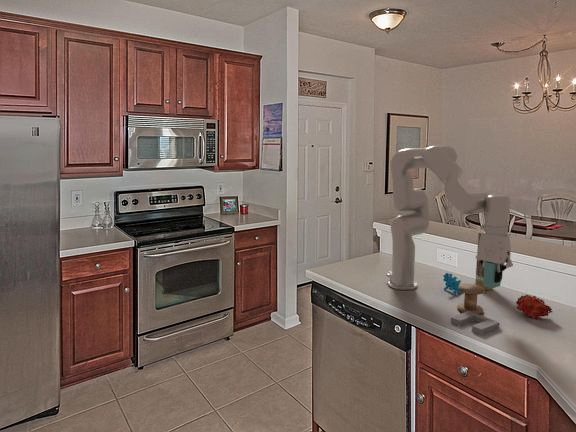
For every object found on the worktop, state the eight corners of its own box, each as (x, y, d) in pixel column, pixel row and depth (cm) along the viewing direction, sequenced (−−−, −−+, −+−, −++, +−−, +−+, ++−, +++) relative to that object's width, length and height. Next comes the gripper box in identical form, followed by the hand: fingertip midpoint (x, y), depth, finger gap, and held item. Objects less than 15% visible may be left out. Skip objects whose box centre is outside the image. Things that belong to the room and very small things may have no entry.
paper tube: (493, 291, 185) (498, 233, 180) (476, 290, 186) (480, 233, 182) (490, 286, 192) (494, 230, 187) (473, 285, 193) (477, 229, 188)
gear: (454, 293, 178) (441, 272, 183) (444, 300, 182) (431, 279, 187) (469, 291, 185) (456, 271, 190) (458, 298, 189) (446, 278, 194)
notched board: (450, 322, 155) (451, 317, 155) (468, 316, 160) (468, 311, 160) (481, 335, 145) (481, 329, 145) (499, 327, 150) (499, 322, 150)
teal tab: (483, 285, 157) (484, 261, 155) (491, 283, 159) (492, 259, 158) (492, 288, 154) (493, 264, 152) (500, 285, 156) (502, 261, 155)
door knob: (452, 309, 167) (453, 286, 165) (467, 304, 171) (468, 282, 170) (473, 317, 159) (474, 293, 158) (488, 311, 164) (489, 288, 162)
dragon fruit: (512, 314, 165) (547, 328, 157) (509, 308, 159) (545, 322, 151) (521, 294, 166) (556, 307, 159) (518, 287, 160) (555, 300, 152)
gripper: (468, 227, 158) (465, 276, 161) (512, 235, 144) (508, 289, 147) (480, 225, 162) (477, 272, 165) (525, 232, 148) (520, 284, 151)
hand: (492, 279), depth 156 cm, fingers closed on teal tab, 3 cm apart
